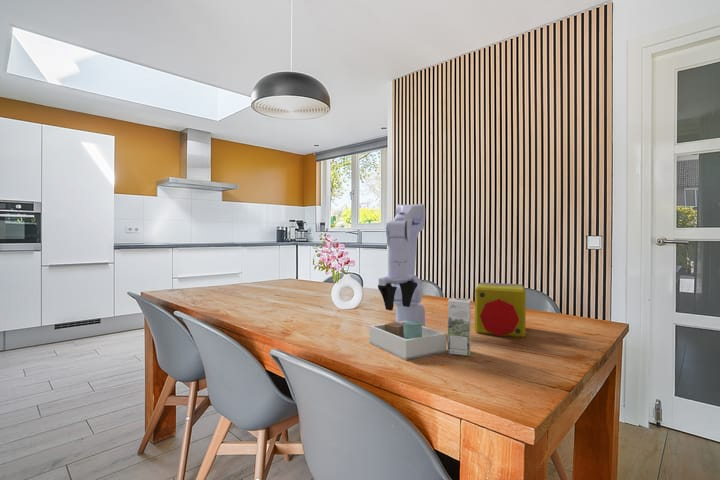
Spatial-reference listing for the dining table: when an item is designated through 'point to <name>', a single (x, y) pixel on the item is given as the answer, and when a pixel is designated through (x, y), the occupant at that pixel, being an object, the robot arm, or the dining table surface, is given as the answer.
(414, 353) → the grey tote
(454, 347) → the syrup box
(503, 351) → the dining table surface
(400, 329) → the walnut cube
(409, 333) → the teal canister
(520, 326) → the emergency stop button
